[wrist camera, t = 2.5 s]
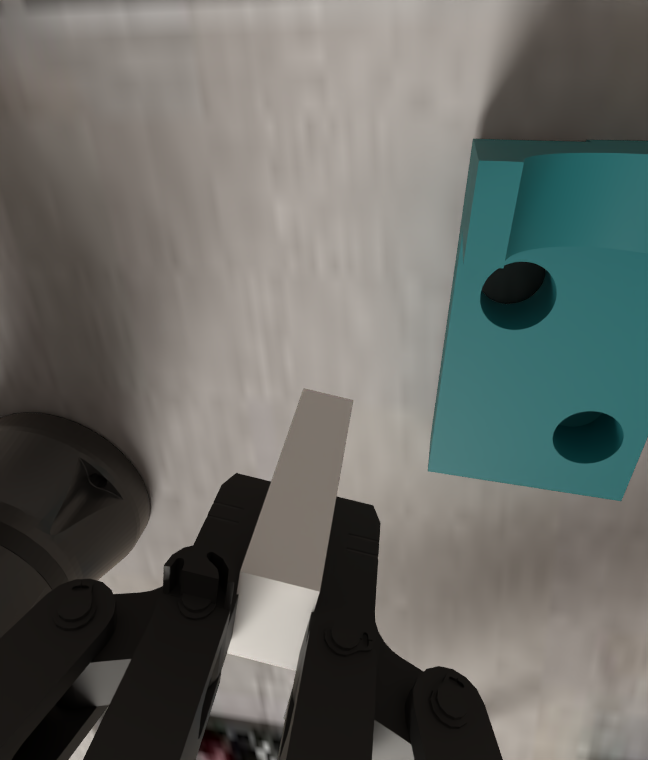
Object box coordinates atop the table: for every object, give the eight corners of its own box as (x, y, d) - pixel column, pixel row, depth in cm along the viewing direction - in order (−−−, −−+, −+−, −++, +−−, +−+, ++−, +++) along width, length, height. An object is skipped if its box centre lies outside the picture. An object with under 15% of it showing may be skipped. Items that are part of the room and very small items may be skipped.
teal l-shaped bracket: (472, 136, 26) (478, 160, 17) (709, 142, 23) (858, 173, 15) (431, 424, 35) (422, 538, 26) (600, 447, 32) (652, 579, 24)
